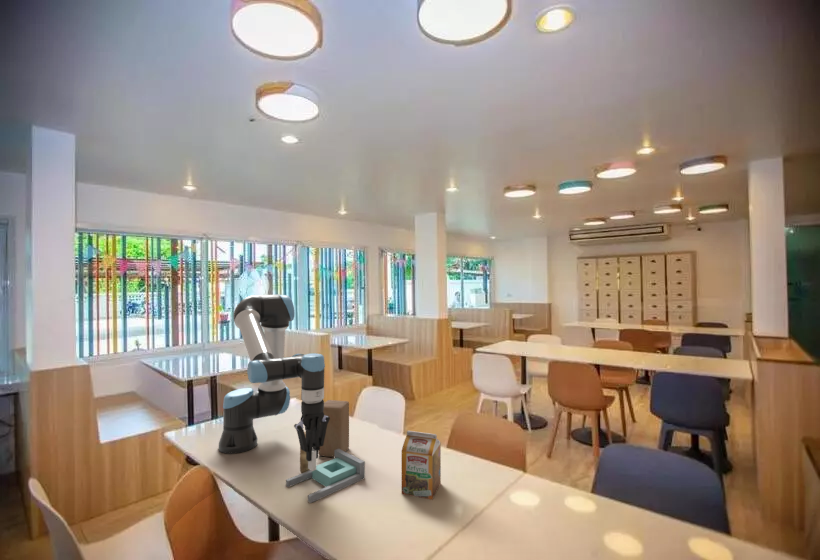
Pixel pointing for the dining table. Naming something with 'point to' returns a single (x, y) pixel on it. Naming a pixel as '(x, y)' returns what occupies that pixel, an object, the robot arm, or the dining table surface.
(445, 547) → the dining table surface
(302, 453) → the dowel
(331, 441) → the block
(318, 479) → the teal square ring
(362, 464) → the track
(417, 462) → the milk carton
